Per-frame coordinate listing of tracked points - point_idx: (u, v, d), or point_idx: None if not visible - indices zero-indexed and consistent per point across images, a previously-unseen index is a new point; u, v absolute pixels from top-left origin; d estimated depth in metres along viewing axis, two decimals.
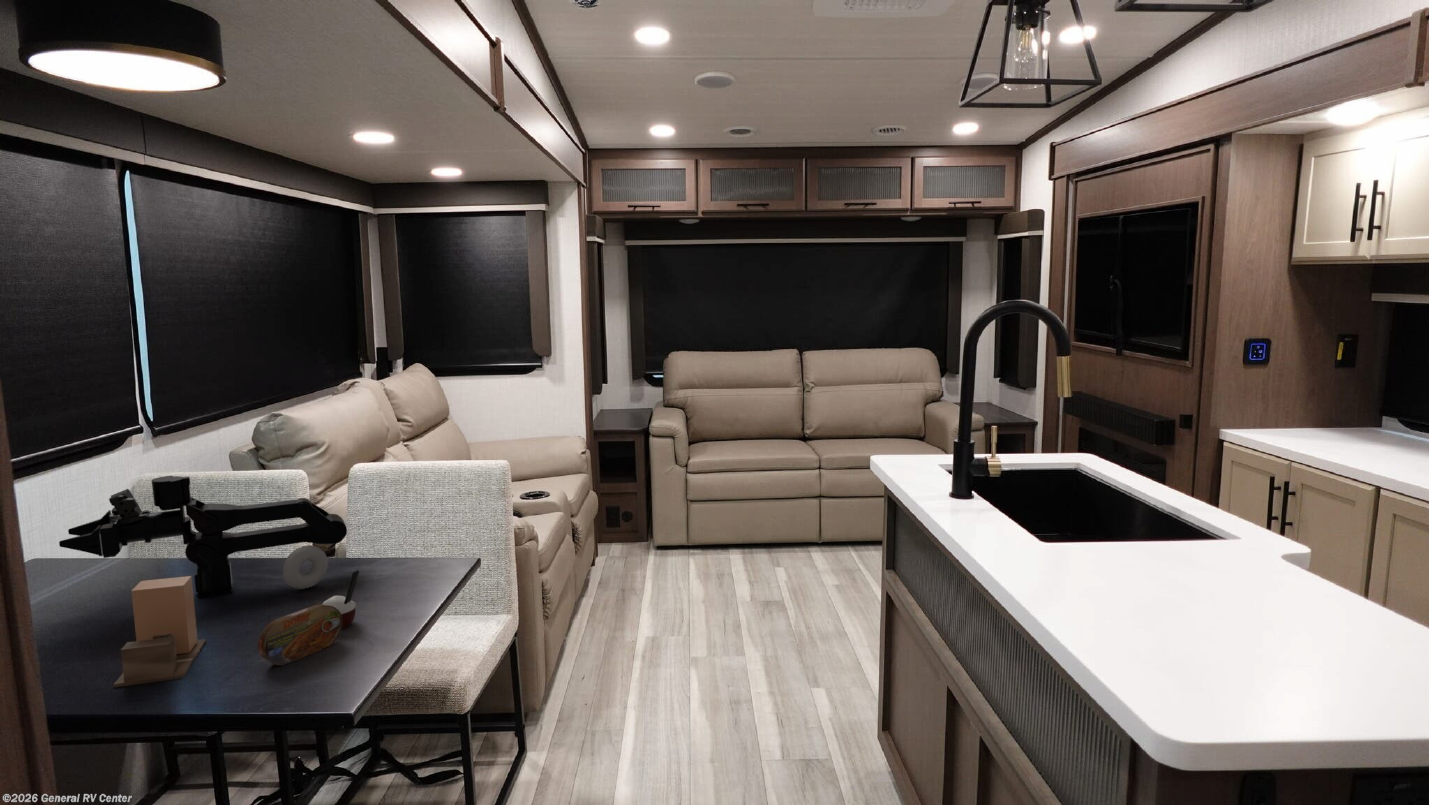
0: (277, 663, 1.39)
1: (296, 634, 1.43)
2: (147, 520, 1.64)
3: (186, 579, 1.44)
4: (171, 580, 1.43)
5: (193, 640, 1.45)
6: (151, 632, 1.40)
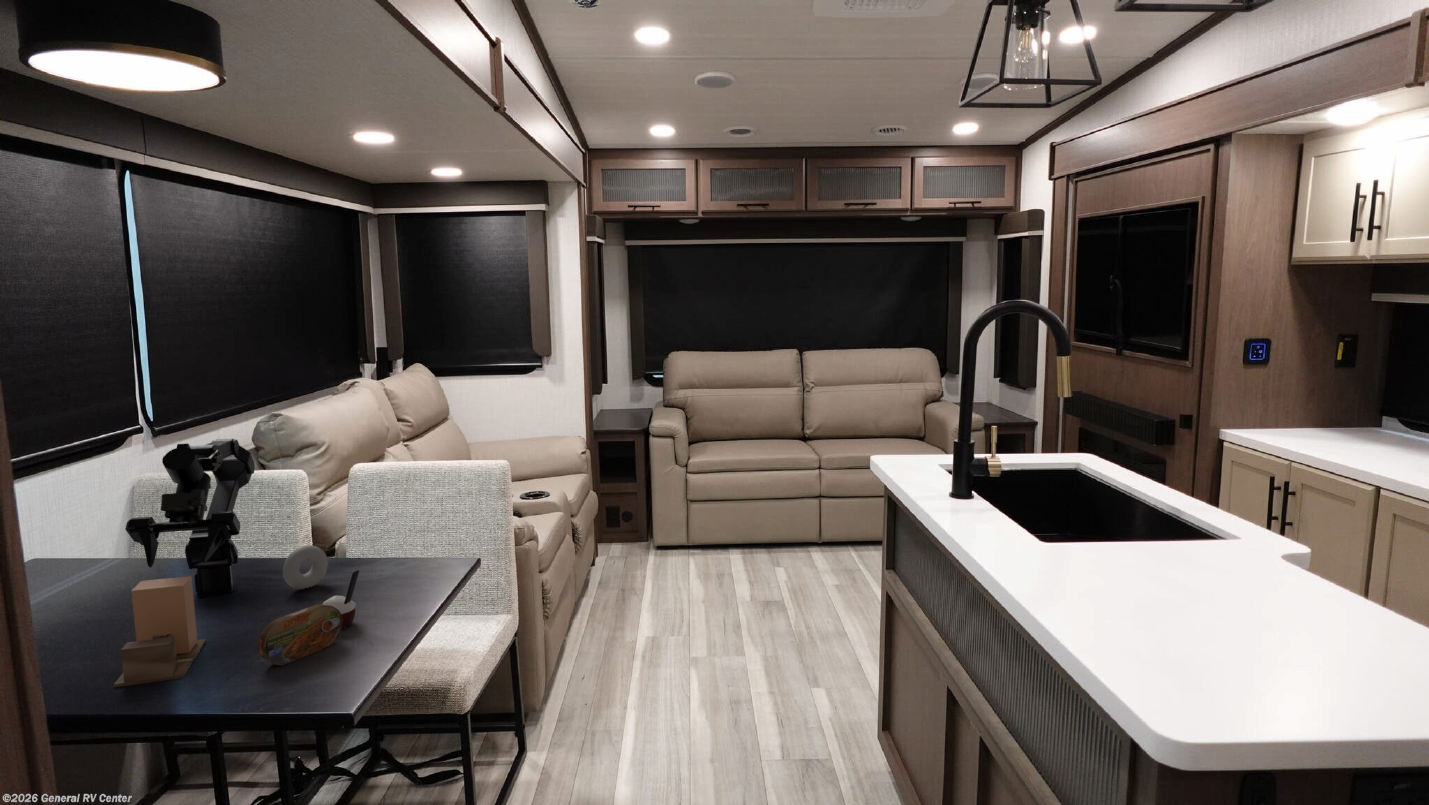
0: (277, 663, 1.39)
1: (296, 634, 1.43)
2: None
3: (186, 579, 1.44)
4: (171, 580, 1.43)
5: (193, 640, 1.45)
6: (151, 632, 1.40)
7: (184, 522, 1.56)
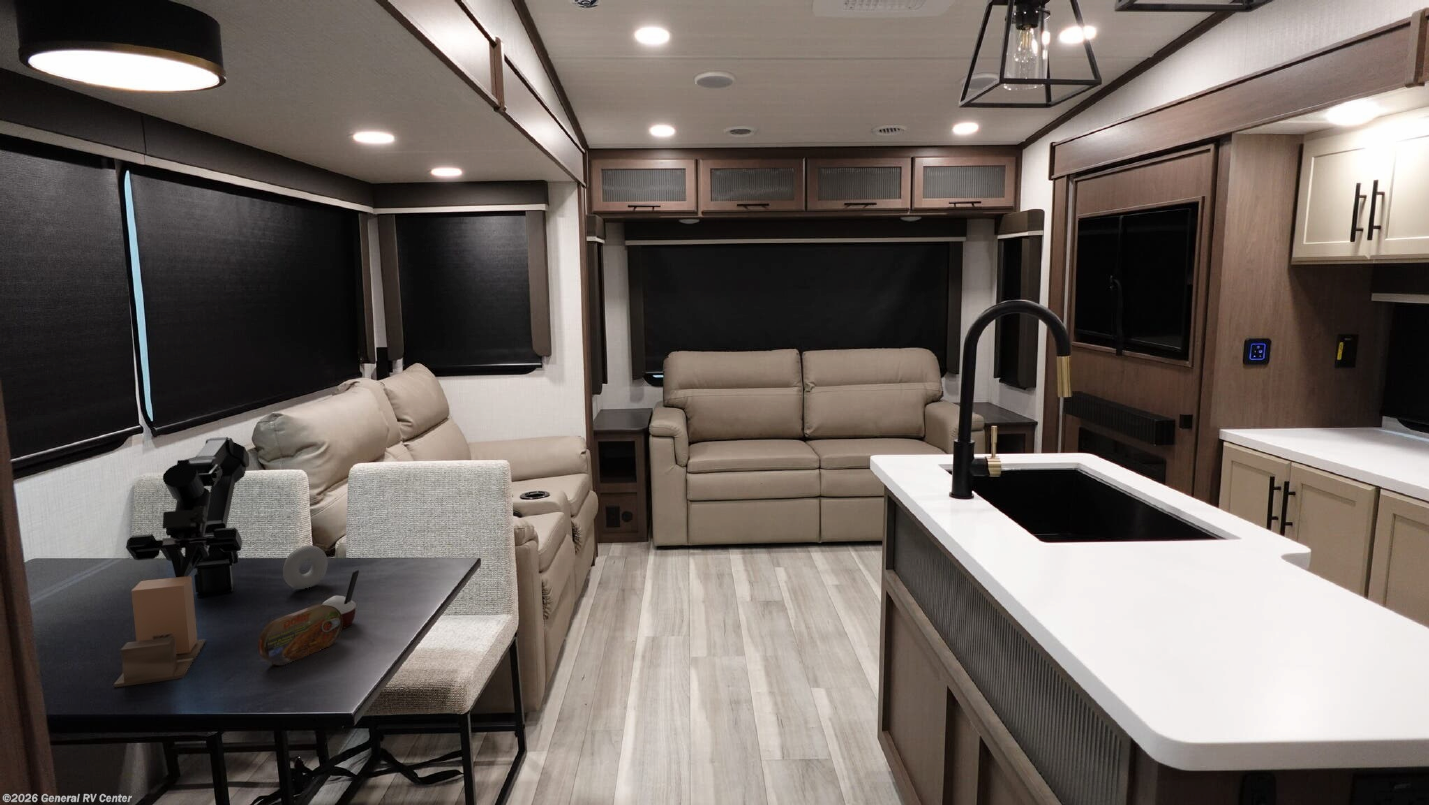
0: (277, 663, 1.39)
1: (296, 634, 1.43)
2: None
3: (186, 579, 1.44)
4: (171, 580, 1.43)
5: (193, 640, 1.45)
6: (151, 632, 1.40)
7: (211, 537, 1.56)
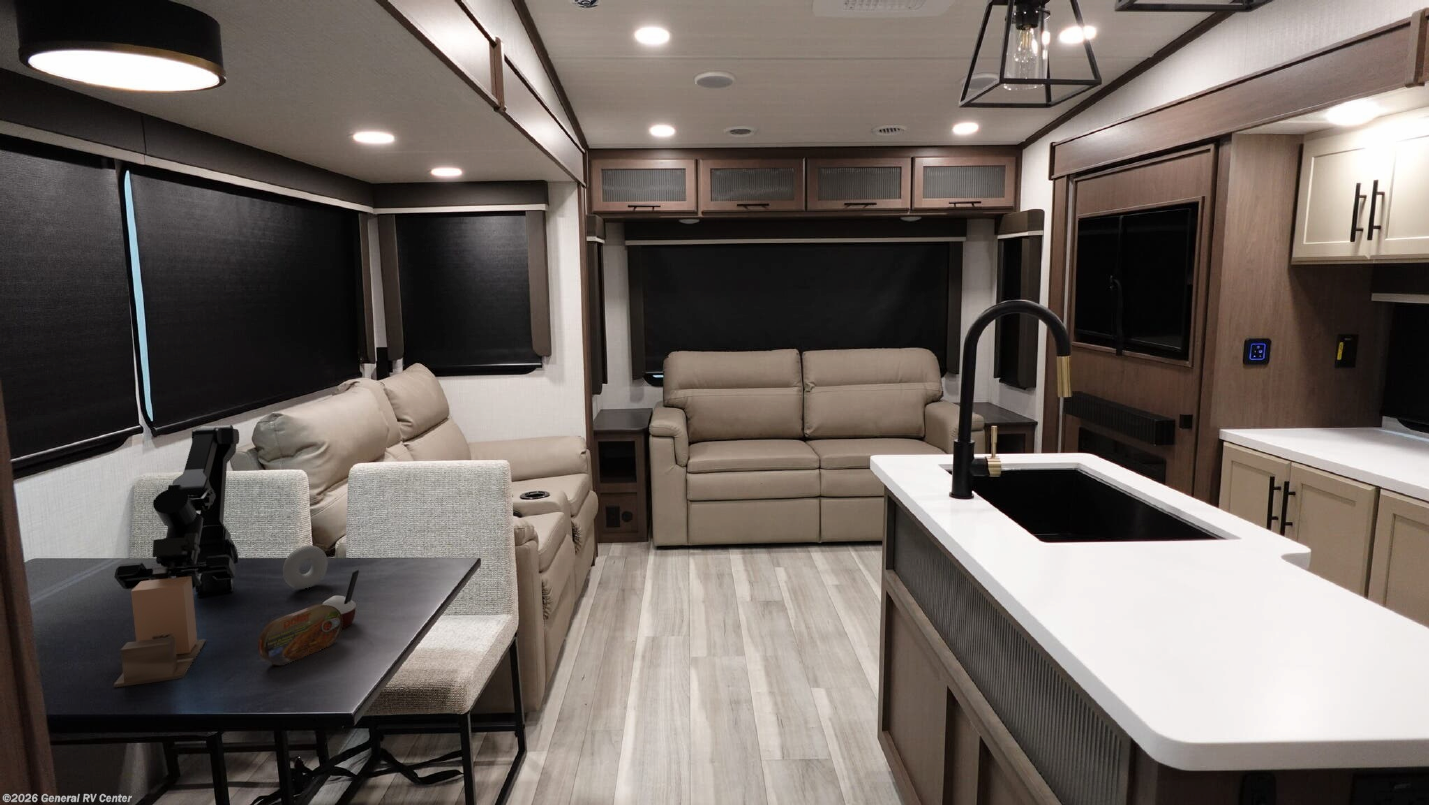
0: (277, 663, 1.39)
1: (296, 634, 1.43)
2: None
3: (186, 579, 1.44)
4: (171, 580, 1.43)
5: (193, 640, 1.45)
6: (151, 632, 1.40)
7: (203, 565, 1.51)
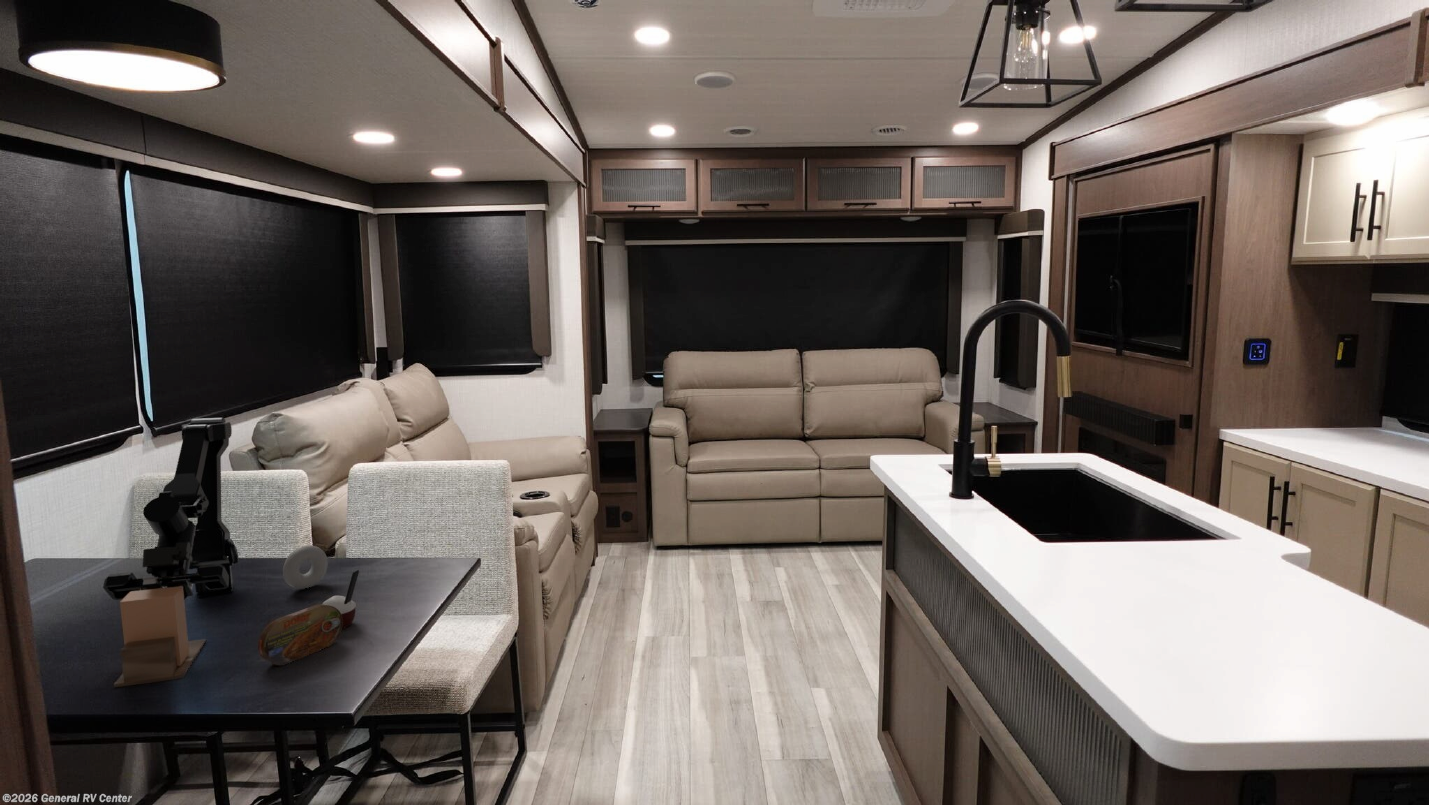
0: (277, 663, 1.39)
1: (296, 634, 1.43)
2: None
3: (177, 589, 1.39)
4: (161, 590, 1.38)
5: (184, 652, 1.40)
6: None
7: (195, 575, 1.46)
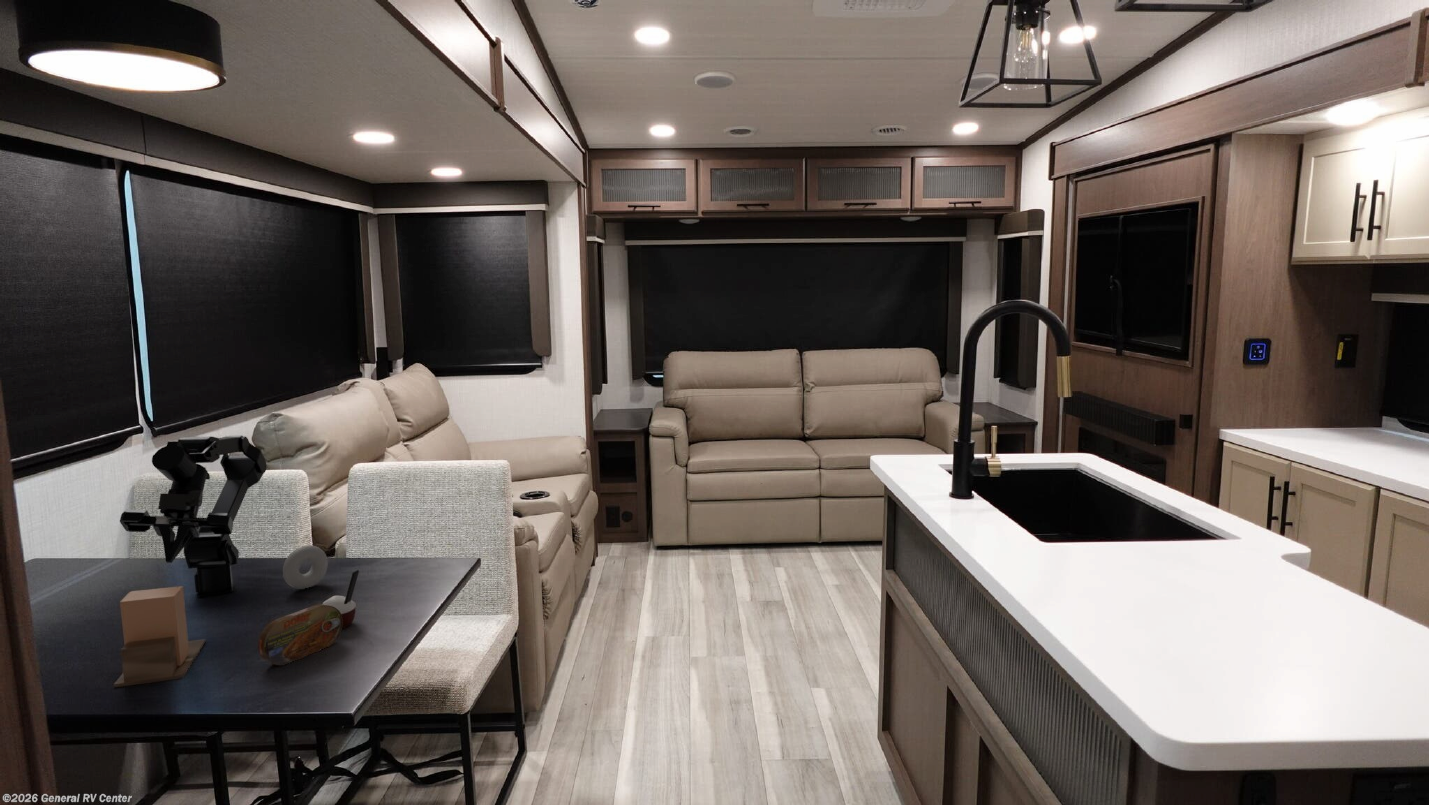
0: (277, 663, 1.39)
1: (296, 634, 1.43)
2: None
3: (177, 589, 1.39)
4: (162, 590, 1.38)
5: (184, 652, 1.40)
6: None
7: (204, 520, 1.59)
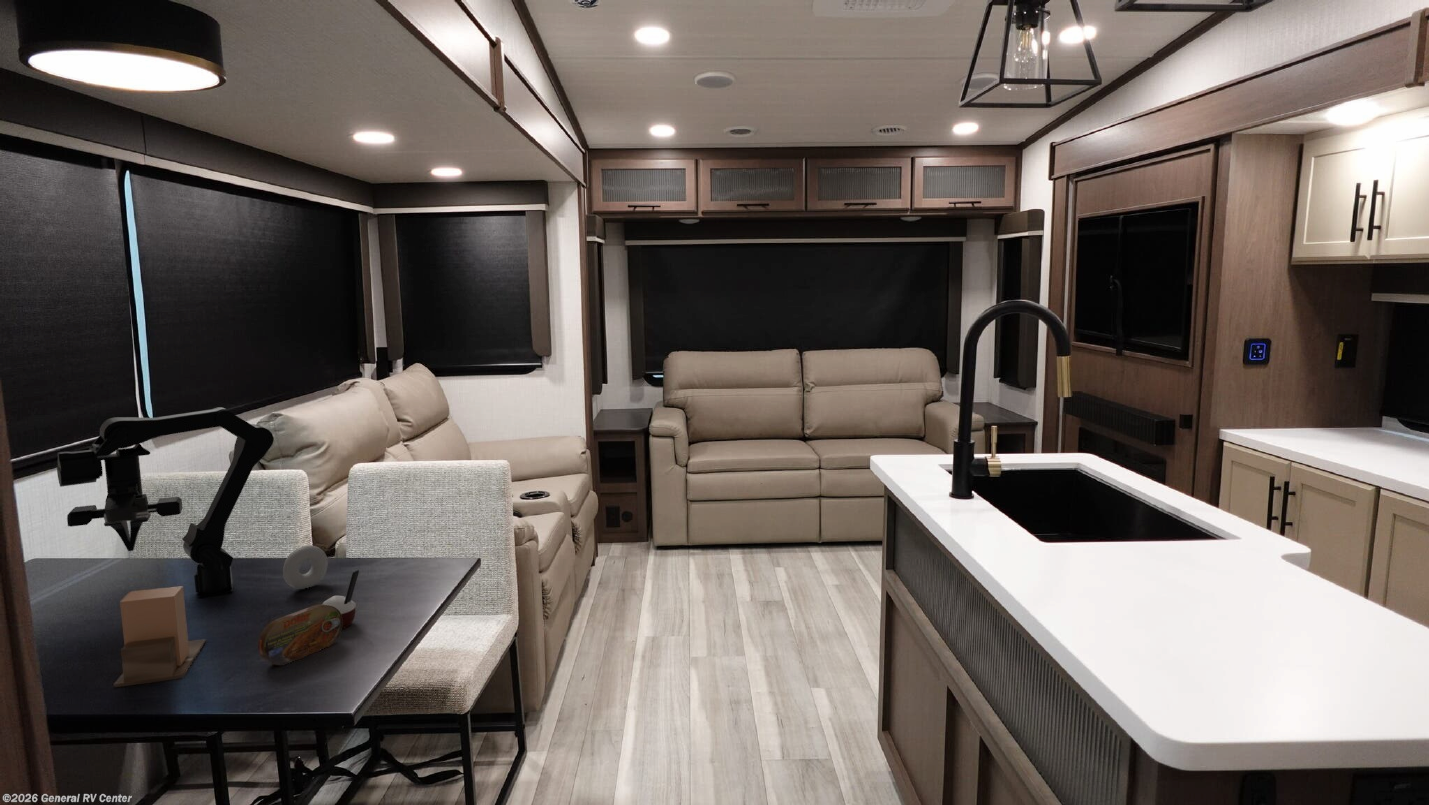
0: (277, 663, 1.39)
1: (296, 634, 1.43)
2: (137, 484, 1.60)
3: (177, 589, 1.39)
4: (162, 590, 1.38)
5: (184, 652, 1.40)
6: None
7: (153, 510, 1.62)
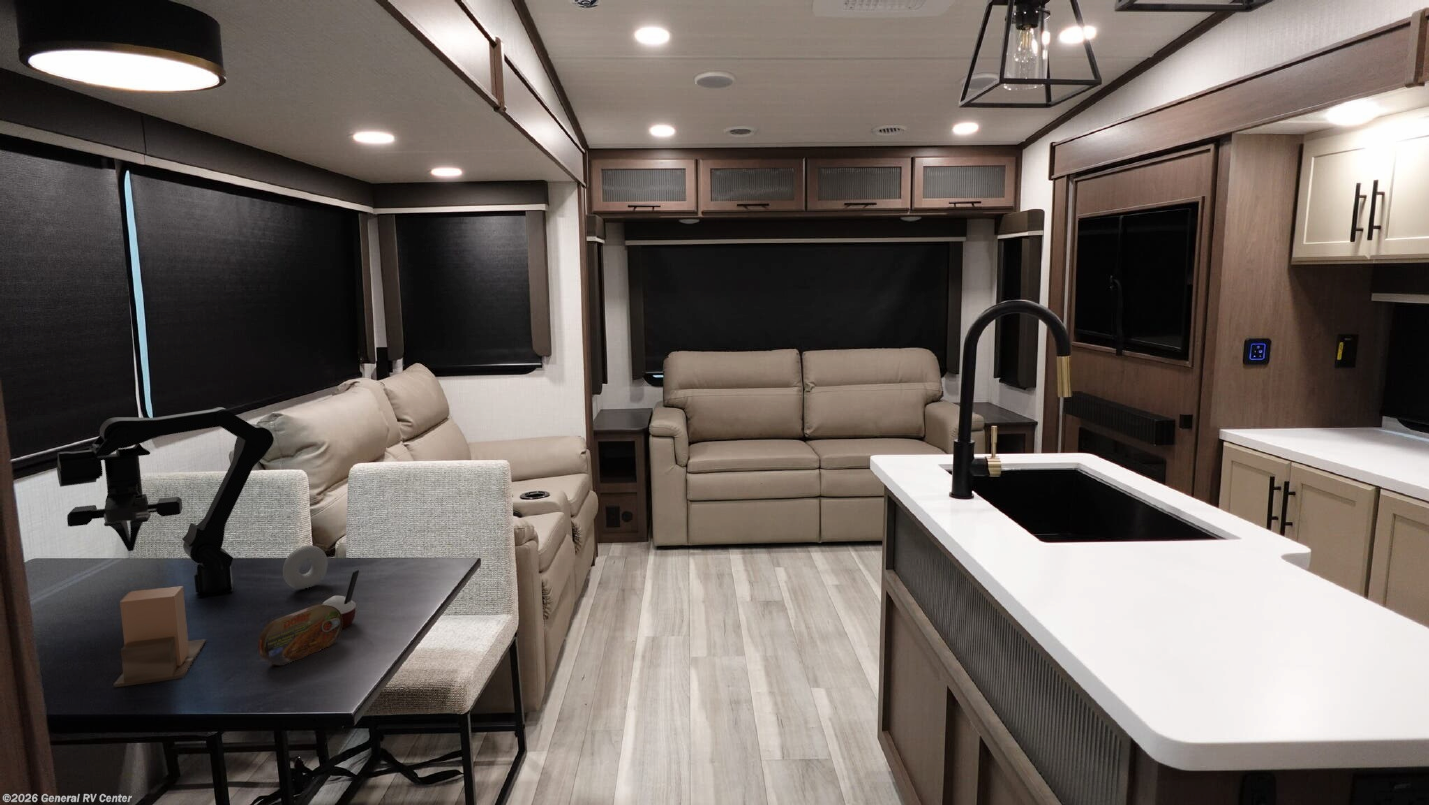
0: (277, 663, 1.39)
1: (296, 634, 1.42)
2: (137, 484, 1.60)
3: (177, 589, 1.39)
4: (162, 590, 1.38)
5: (184, 652, 1.40)
6: None
7: (153, 510, 1.62)
